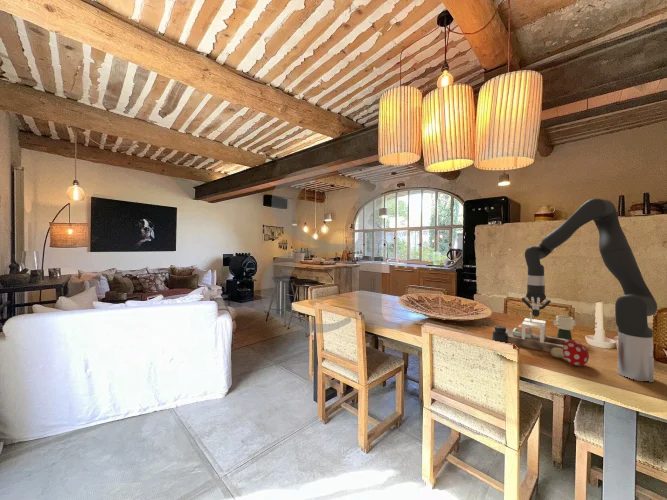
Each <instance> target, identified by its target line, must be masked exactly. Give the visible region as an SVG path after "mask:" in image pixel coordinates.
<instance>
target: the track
mask: <svg viewBox="0 0 667 500" xmlns="http://www.w3.org/2000/svg"><path fill="white" fill-rule="evenodd" d="M513 330H514V329H508V328H506V333H507V334H508V343H514V344H516V345H515V346H518V347H523V348H527V349H532V350H538V351H543V352H546V353H550V351H551V349H552V348H561V349H563V345H564V343H565V342H566V341H568V340H567V339H562V338H557V337H554V336H549V335H546V336H544V343H541V342H540V334H538V333H533V332H532V337H531V338H526V337H525V339H522V337H521V336H515V335H512V334H513Z"/></svg>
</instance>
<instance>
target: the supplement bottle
mask: <svg viewBox="0 0 667 500" xmlns="http://www.w3.org/2000/svg"><path fill="white" fill-rule="evenodd" d="M506 329H507V328H506V326H504V325H497V324H496V325H494V330H493V331H492V332H491V333H492V334H491V336H492V338H491V341H492V340H495V341H500V342H505V343H508V334H507V333H506Z"/></svg>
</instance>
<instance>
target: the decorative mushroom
mask: <svg viewBox="0 0 667 500" xmlns="http://www.w3.org/2000/svg"><path fill="white" fill-rule="evenodd" d="M549 353H550V354H551V356H552V357H554V358H558V359H559V358H565V359H566V361H567V362H568V363H569V364H570V365H572V366H575V367H578V368H579V367H583V366H584V365H586V364H587V363H588V362H589V358H590V355H589V352H588V349H587V348H586V347H585V346H584V345H583V344H582V343H581V342H579V341H577V340H573V339H572V340H568V341H566V342H565V343H564V345H563V349H561V348H552V349H551V351H550V352H549Z"/></svg>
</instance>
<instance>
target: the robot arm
mask: <svg viewBox="0 0 667 500" xmlns="http://www.w3.org/2000/svg"><path fill="white" fill-rule="evenodd" d="M589 222H594V224H595V226H596V229H597V231H598V235H599V239H598V242H599V243H598V249H599V253H600V257H601V258H602V261H603V263H604V265H605V267H606V268H607V270H608V271H609V272H610V273H611V274H612V275H613V276H614V277H615V279H616V280H617V281H618V282H619V284H620V285H621V288H622V291H623V295H620V296H619V297H618V298H617V299H616V301H615V305H614V308H615V309H614V310H615V312H614V313H615V316H614V317H615V324H616V326H617V328H618V330H617V336H618V337H617V339H618V340H617V341H618V342H617V373H618V374H619V375H620V376H621V377H624V376H625V377H624V378H626V377H628V378H627V379H629V378H630V380H633V379H634V380H633V381H638V382H643V381H649V382H648V383H652V382H654V381H655V358H654V355H653V354H654V353H653V352H654V349H653V348H654V347H653V346H654V345H653V344H654V340H653V339H654V330H653V329H652V328H650V327H649V325H648V324H649V323H648V317H651V316H653V315H655V313H657V311H658V303H657V301H656V299H655V298H654V295H653V294H652V291H650V289H649V287H648V285H647V284H646V281H645V280H644V278H643V274H642V272H641V269H640V267H639V266H638V263H637V260H636V257H635V255H634V253H633V250H632V248H631V246H630V243H629V242H628V239H627V237H626V234H625V232H624V230H623V229H622V226H621V224H620V219H619V216H618V212H617V209H616V205H615V204H614V203H613V202H612V201H611V200H608V199H603V198H591V199H588V200H587V201H584V203H583V204H581V206H580V207H578V209H577V210H576V211H575V212H573V213H572V215H570V217H568V219H566V220H565V221H564V222H563V223H561V224H560V225H559V226H558V227H557V228H555V229H554V230H553V231H551V232H550V233H549V234H547V235H546V236H544V237H543V238H542V239H541V243H539V244H538V245H533V246H532V245H531V246H528V247H527V248H525V251H524V259H525V263H526V266H527V277H526V295H525V296H523V297H521V301H522V302H523V303H524V304H525V306H527V308H528V309H531V310H532V311H531V312H532V316H533V317H534V318H538V317H539V316H540V311H541V310H544V309H545V308H546V307H548V306H549V305H550V304H551V302H552V301H551V299H548V298H547V295H546V279H545V266H544V265H543V264H542V263H541V260H542V259H545V258H546V257H548V256H549V255H550V254H552V252H553V251H554V250H555V249H556V248H558V247H559V246H561V245H563V244H564V243H566V241H568V240H570V238H571V237H572V236H573V235H574V234H575V232H576V231H577V230H579V229H580V228H581V227H583V226H584V225H586V224H588V223H589ZM529 301H530V302H529ZM543 302H544V303H543ZM530 303H531V304H530ZM542 303H543V304H542ZM541 304H542V305H541ZM654 383H655V382H654Z"/></svg>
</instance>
